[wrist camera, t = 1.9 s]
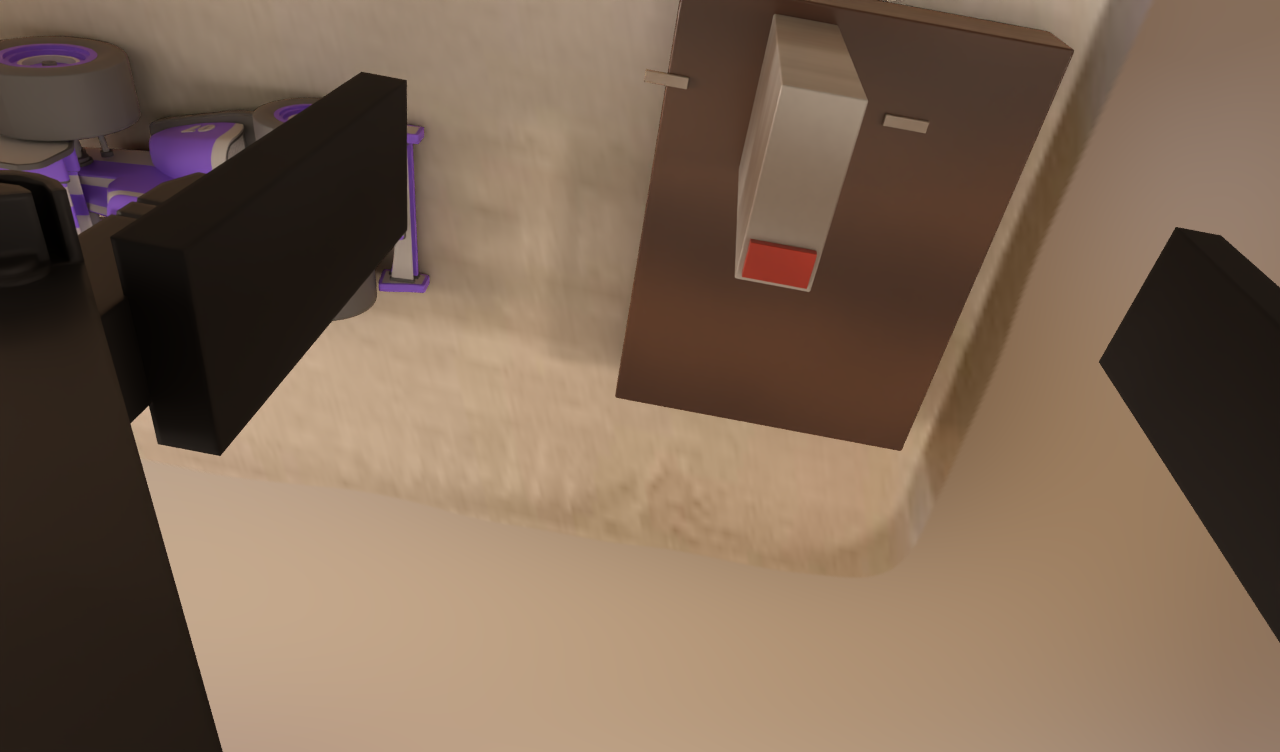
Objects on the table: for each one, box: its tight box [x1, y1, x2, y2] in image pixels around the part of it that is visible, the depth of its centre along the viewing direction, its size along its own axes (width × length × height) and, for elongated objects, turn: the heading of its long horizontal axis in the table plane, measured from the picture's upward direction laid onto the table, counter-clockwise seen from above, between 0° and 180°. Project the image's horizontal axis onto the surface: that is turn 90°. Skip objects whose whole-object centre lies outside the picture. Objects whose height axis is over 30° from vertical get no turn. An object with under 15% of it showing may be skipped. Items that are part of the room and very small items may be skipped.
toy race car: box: [0, 36, 429, 321], centre depth 30 cm, size 10×15×6 cm, turn 83°
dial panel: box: [615, 0, 1074, 451], centre depth 30 cm, size 18×13×3 cm
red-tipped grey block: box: [735, 14, 868, 292], centre depth 23 cm, size 5×2×8 cm, turn 171°
